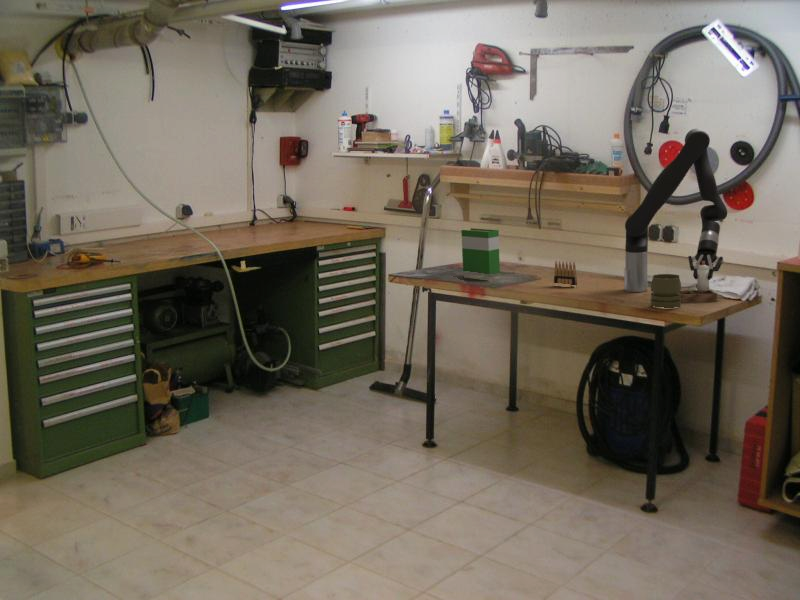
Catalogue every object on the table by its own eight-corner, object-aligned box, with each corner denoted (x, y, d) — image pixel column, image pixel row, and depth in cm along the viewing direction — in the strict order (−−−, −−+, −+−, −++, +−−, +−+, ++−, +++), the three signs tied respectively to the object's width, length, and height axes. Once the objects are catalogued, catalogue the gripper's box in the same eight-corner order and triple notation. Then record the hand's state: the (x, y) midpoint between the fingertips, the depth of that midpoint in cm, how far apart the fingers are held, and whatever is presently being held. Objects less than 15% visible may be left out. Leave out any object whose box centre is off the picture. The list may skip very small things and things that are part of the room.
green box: (463, 278, 428) (461, 230, 423) (473, 275, 432) (471, 228, 428) (489, 281, 415) (488, 232, 410) (500, 279, 419) (498, 230, 415)
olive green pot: (681, 274, 342) (680, 279, 332) (680, 303, 345) (680, 309, 334) (651, 273, 346) (650, 279, 336) (651, 303, 348) (650, 309, 338)
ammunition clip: (553, 286, 394) (553, 260, 391) (555, 285, 395) (555, 260, 393) (575, 288, 387) (575, 261, 385) (577, 287, 389) (576, 261, 386)
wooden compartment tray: (673, 302, 347) (673, 295, 346) (668, 298, 356) (668, 291, 355) (717, 301, 345) (717, 293, 345) (710, 296, 354) (711, 289, 354)
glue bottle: (698, 291, 347) (698, 262, 345) (695, 289, 352) (696, 260, 350) (710, 290, 347) (710, 261, 345) (707, 288, 351) (707, 260, 349)
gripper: (688, 238, 355) (682, 272, 347) (725, 238, 348) (719, 273, 340) (691, 249, 361) (685, 283, 353) (727, 249, 354) (722, 284, 346)
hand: (702, 278), depth 347 cm, fingers closed on glue bottle, 4 cm apart
